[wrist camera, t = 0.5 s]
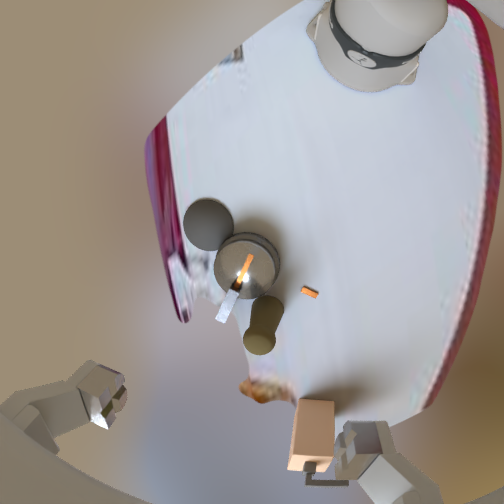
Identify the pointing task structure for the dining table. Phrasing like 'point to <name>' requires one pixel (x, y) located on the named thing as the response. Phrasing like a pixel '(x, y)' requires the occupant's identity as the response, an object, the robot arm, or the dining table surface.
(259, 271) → the saucepan
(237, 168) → the dining table surface
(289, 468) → the soap dispenser
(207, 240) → the coaster
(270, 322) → the cork
